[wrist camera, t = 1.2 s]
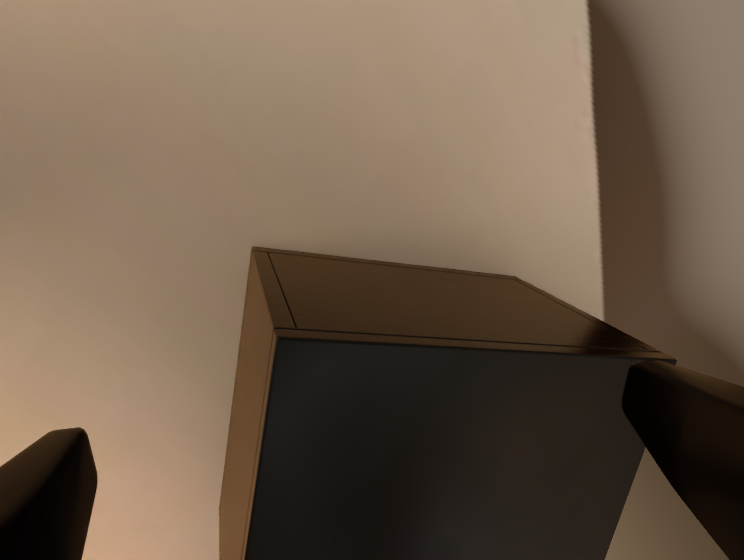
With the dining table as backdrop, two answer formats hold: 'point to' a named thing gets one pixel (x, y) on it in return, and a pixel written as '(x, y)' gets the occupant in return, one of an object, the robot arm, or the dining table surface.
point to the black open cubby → (422, 417)
